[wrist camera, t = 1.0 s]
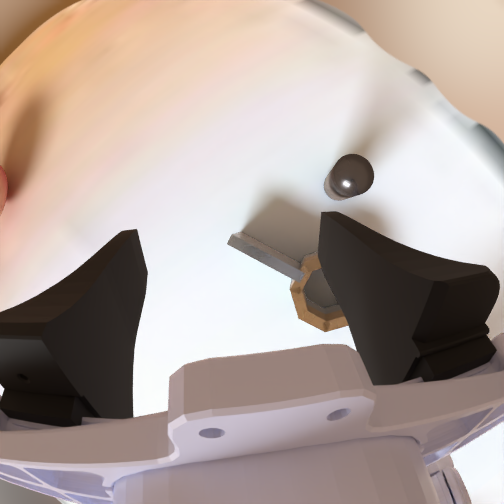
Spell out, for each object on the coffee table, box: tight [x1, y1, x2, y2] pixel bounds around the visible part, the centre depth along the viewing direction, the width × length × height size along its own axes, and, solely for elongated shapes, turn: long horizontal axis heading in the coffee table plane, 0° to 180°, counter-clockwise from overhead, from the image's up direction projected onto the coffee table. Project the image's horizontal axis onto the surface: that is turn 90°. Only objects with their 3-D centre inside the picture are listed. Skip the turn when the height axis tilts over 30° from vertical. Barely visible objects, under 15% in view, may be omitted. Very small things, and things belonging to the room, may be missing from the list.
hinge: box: [227, 232, 348, 332], centre depth 24 cm, size 17×6×4 cm, turn 63°
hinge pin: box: [324, 154, 374, 201], centre depth 21 cm, size 2×2×8 cm
